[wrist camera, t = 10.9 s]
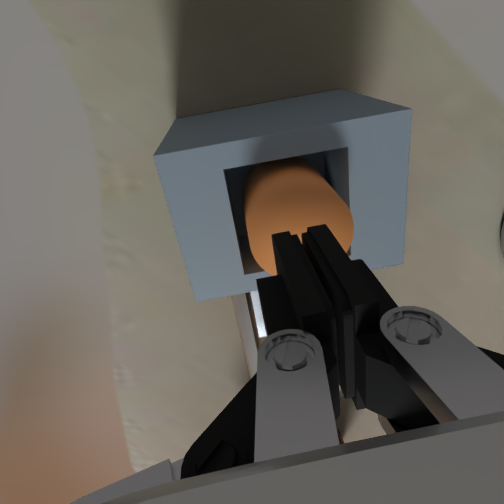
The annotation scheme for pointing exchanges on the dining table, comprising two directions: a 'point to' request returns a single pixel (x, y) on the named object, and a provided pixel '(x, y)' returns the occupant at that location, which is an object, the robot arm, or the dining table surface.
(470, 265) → the dining table surface
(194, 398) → the dining table surface
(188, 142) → the blue-grey box
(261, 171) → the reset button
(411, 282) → the dining table surface
